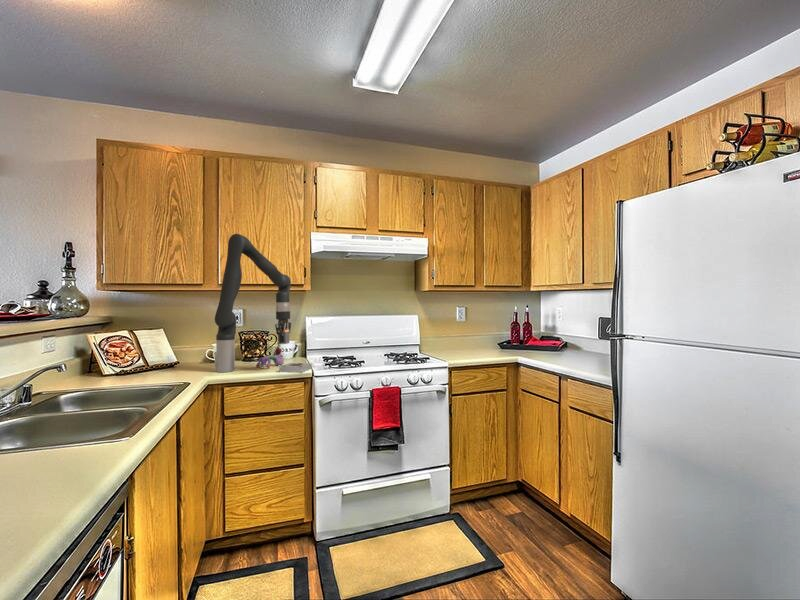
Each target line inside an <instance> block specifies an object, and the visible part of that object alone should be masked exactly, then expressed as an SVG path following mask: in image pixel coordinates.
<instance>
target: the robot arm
mask: <svg viewBox="0 0 800 600" xmlns="http://www.w3.org/2000/svg"><path fill="white" fill-rule="evenodd" d="M226 254H227V255H226V262H225V267H224V273H223V277H222V283H221V289H220V295H219V296H220V297H219V301H218V306H217V308H216V312H215V316H214V323H215V324H216V326H217V327H218V330H217V334H216V335H215V337H216V339H215V340H216V343H215V344H216V348H215V349H216V350H215V351H216V353H214V372H215V371H216V372H215V373H231V372H234V371H236V369H235V368H236V367H235V366H236V365H235V364H236V363H235V361H236V358H235V357H236V356H235V353H236V352H235V351H236V348H235V346H236V345H235V344H236V343H235V340H236V332H237V318H236V317H237V316H236V314H235V313H234V312H233V310H234V304H235V300H236V298H237V296H238V295H239V292H240V288H241V285H242V277H243V274H242V273H243V272H242V266H241V259H242V255H244V256H246V257H247V258H248V259H250V260H251V261H252V262H253V264H254V265H255V266H256V267H257V268H258V270H260V271H261V272H262V273H263V274H264V275H265V276H266V277H268V278H269V280H270V281H271V282H272V283H273V285H275V286H277V287H278V291H277V292H276V294H275V319H276V320H277V321H278V322H277V323H275V324H274V326H275V331H276V335H277V336H278V335H279V342H280V343H283V342H284V336H283V335H284V331H285V330H289V334H291V327H292V322H289V320H290V319H291V304H290V303H291V302H290V293H291V292H290V291H291V284H292V283H291V282H292V281H291V278H290V276H289V275H287V274H284V273H282V272H281V271H280V270H279V269H278V267H277V266H276V265H275V264H273V262H272V261H270V260H269V259H268V258H267V257H266V256H264V255H263V253H261V252H260V251H259V250H258V249H257V248H256V247H255V246H254V244H253V243H252V241H250V240H249V238H248V237H246V236H245V235H243V234H239V233H234V234H231V236H230V237H229V239H228V243H227V253H226ZM278 331H279V332H278Z"/></svg>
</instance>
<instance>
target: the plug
mask: <svg viewBox="0 0 800 600" xmlns="http://www.w3.org/2000/svg"><path fill="white" fill-rule="evenodd" d="M278 332H279V331H278ZM283 336H284V342H283V343H280V342H279V335H277V344H278V345H287V344H290V333H289V330H285V331H284V335H283Z"/></svg>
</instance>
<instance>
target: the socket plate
mask: <svg viewBox="0 0 800 600" xmlns="http://www.w3.org/2000/svg"><path fill="white" fill-rule="evenodd" d="M311 368H312V369H313V363H309V362H289V363H286V364H282V365H280V366H279V368H278V370H279V371H278V372H279V373H293V374H294V373H295V374H296V373H297V374H298V373H299V374H302V373H305V372H307V371H310V370H312V369H311ZM309 369H310V370H309Z"/></svg>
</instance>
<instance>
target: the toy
mask: <svg viewBox="0 0 800 600" xmlns="http://www.w3.org/2000/svg"><path fill="white" fill-rule="evenodd" d="M271 360H272V361H273V363H274V364H275V365H276V366H278V365H280V366H282V365H284V362H285V361H284V360H285V358H284V355H283V354H282V349H280V347H276V349H275V354H274V355H265V356H263V357H262V356H261V357H260V358H259V359H258V362H257V363H256V365H255V366H256V368H257V367H259V368H260V367H264V366H266V369H267V370H270V367H271V362H272V361H271ZM266 364H267V365H266Z"/></svg>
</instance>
